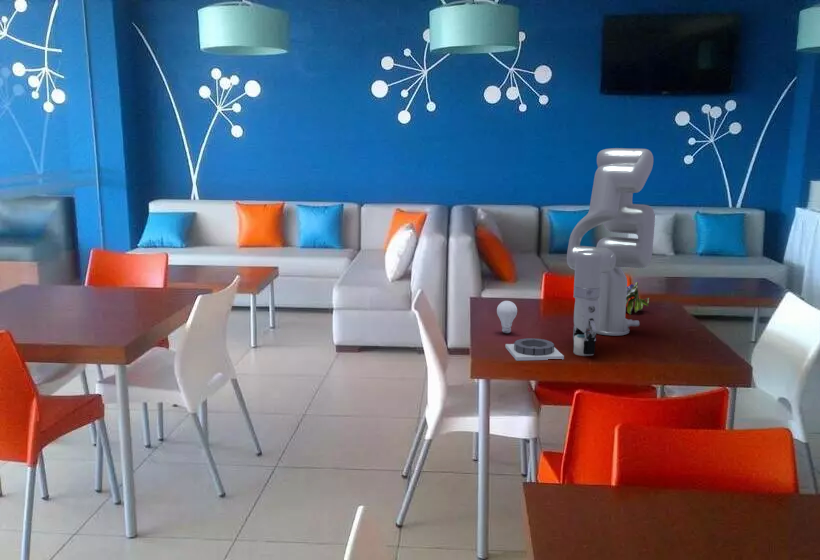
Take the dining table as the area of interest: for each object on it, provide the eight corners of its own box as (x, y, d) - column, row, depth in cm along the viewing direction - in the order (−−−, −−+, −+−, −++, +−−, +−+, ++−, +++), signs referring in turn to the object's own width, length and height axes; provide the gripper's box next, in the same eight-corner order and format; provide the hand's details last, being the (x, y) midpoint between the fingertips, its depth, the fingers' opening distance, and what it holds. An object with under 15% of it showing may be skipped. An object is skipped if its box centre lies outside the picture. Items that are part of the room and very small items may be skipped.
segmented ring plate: (549, 346, 226) (550, 336, 226) (563, 359, 213) (564, 349, 212) (505, 347, 225) (505, 337, 224) (516, 360, 211) (516, 350, 211)
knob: (590, 350, 223) (591, 331, 221) (596, 355, 217) (597, 337, 216) (570, 350, 222) (571, 332, 221) (577, 356, 216) (578, 337, 215)
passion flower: (617, 325, 277) (610, 293, 283) (650, 320, 275) (643, 288, 281) (618, 313, 266) (611, 279, 272) (653, 308, 264) (645, 274, 270)
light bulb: (515, 336, 237) (516, 303, 235) (495, 335, 238) (496, 302, 236) (517, 331, 244) (518, 299, 242) (497, 330, 245) (497, 298, 243)
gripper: (609, 298, 208) (606, 357, 211) (589, 286, 225) (586, 341, 228) (584, 299, 207) (581, 358, 210) (565, 287, 224) (562, 342, 227)
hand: (583, 349), depth 219 cm, fingers open, 8 cm apart
